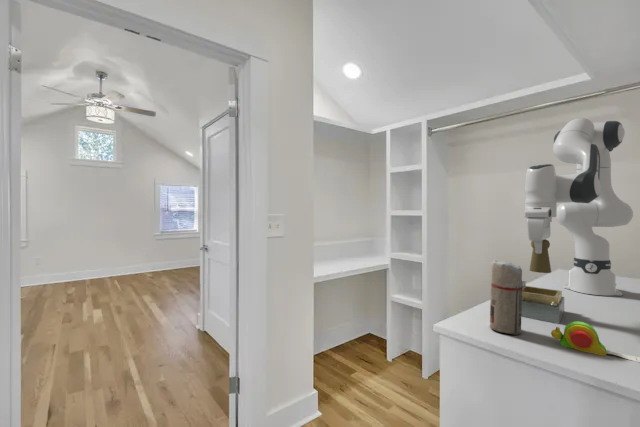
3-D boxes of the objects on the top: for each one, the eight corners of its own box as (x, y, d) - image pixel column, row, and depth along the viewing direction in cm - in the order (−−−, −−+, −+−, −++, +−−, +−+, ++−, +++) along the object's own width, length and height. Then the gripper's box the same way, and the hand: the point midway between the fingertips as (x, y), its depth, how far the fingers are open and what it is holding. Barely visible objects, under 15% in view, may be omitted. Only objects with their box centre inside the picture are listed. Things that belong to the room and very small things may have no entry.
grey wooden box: (523, 304, 114) (523, 280, 114) (564, 311, 106) (564, 285, 106) (513, 314, 102) (514, 288, 102) (559, 323, 94) (559, 294, 94)
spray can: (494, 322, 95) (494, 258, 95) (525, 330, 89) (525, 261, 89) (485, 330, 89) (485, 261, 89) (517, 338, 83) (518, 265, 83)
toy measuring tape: (551, 338, 84) (551, 314, 84) (655, 359, 72) (655, 331, 72) (550, 346, 79) (550, 321, 79) (662, 370, 67) (662, 341, 66)
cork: (554, 273, 100) (554, 239, 100) (533, 272, 102) (533, 239, 101) (546, 269, 106) (546, 238, 106) (526, 269, 107) (526, 238, 107)
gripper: (534, 211, 113) (534, 248, 114) (523, 212, 99) (523, 254, 99) (555, 211, 109) (555, 250, 109) (547, 212, 94) (547, 256, 94)
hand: (540, 252), depth 104 cm, fingers closed on cork, 4 cm apart
